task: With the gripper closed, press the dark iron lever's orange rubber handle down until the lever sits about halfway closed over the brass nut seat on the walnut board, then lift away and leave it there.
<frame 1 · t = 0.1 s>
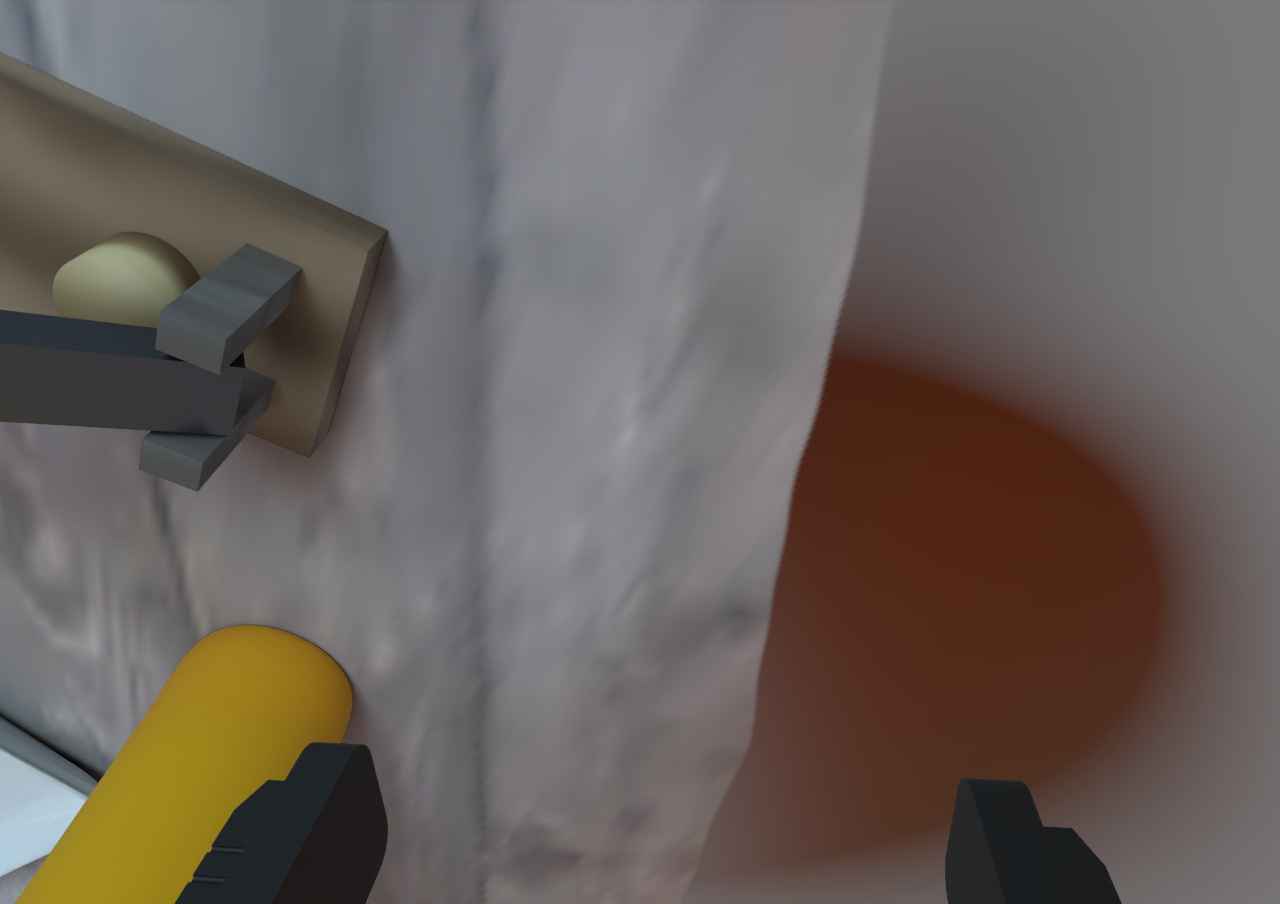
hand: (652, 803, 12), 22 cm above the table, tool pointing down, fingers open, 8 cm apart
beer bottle: (277, 675, 47), on the table
press base: (20, 193, 32), on the table
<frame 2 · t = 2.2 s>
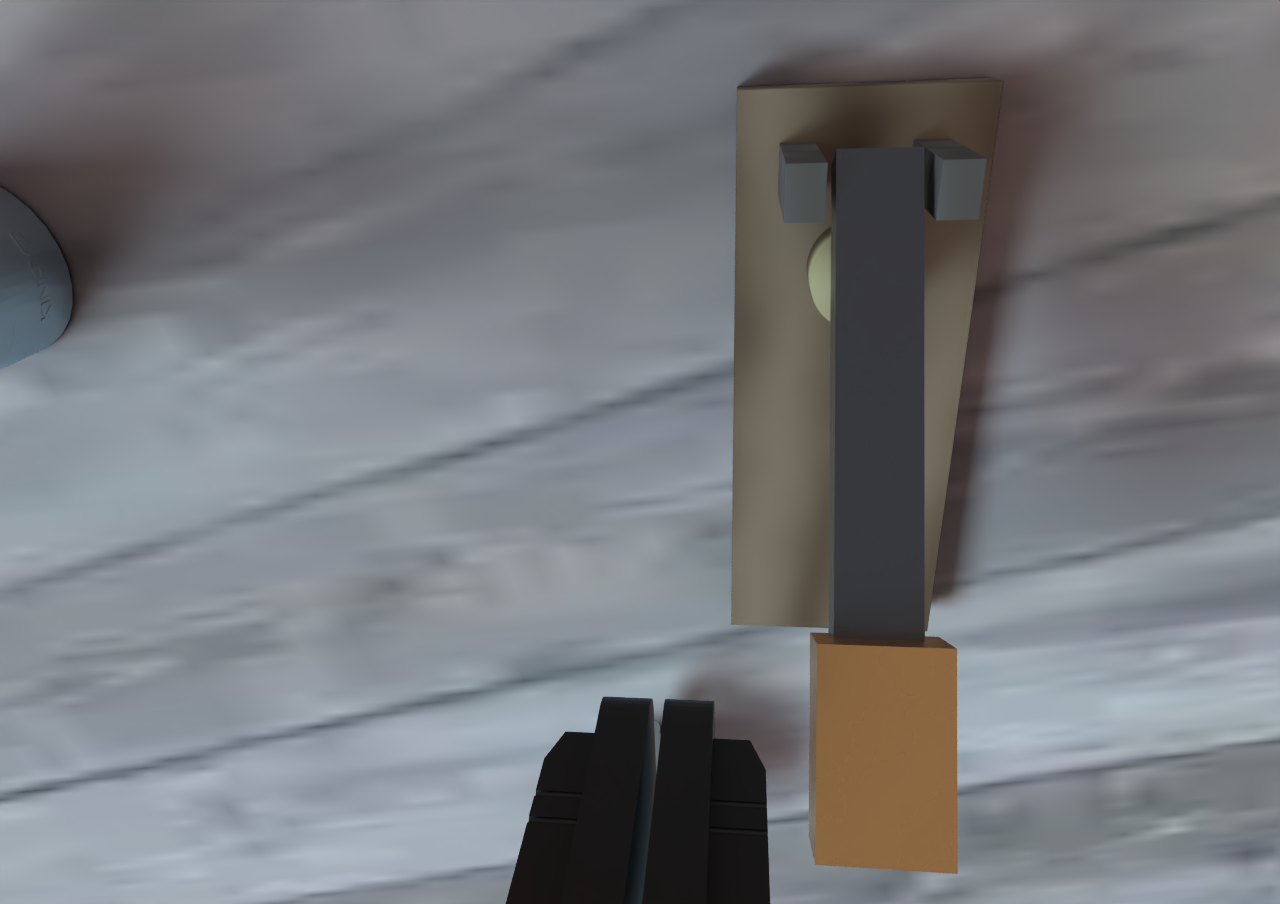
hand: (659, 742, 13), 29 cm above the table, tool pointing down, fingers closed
press lever: (878, 491, 29), point 12 cm above the table, hinge at 30.0°
press base: (840, 381, 40), on the table
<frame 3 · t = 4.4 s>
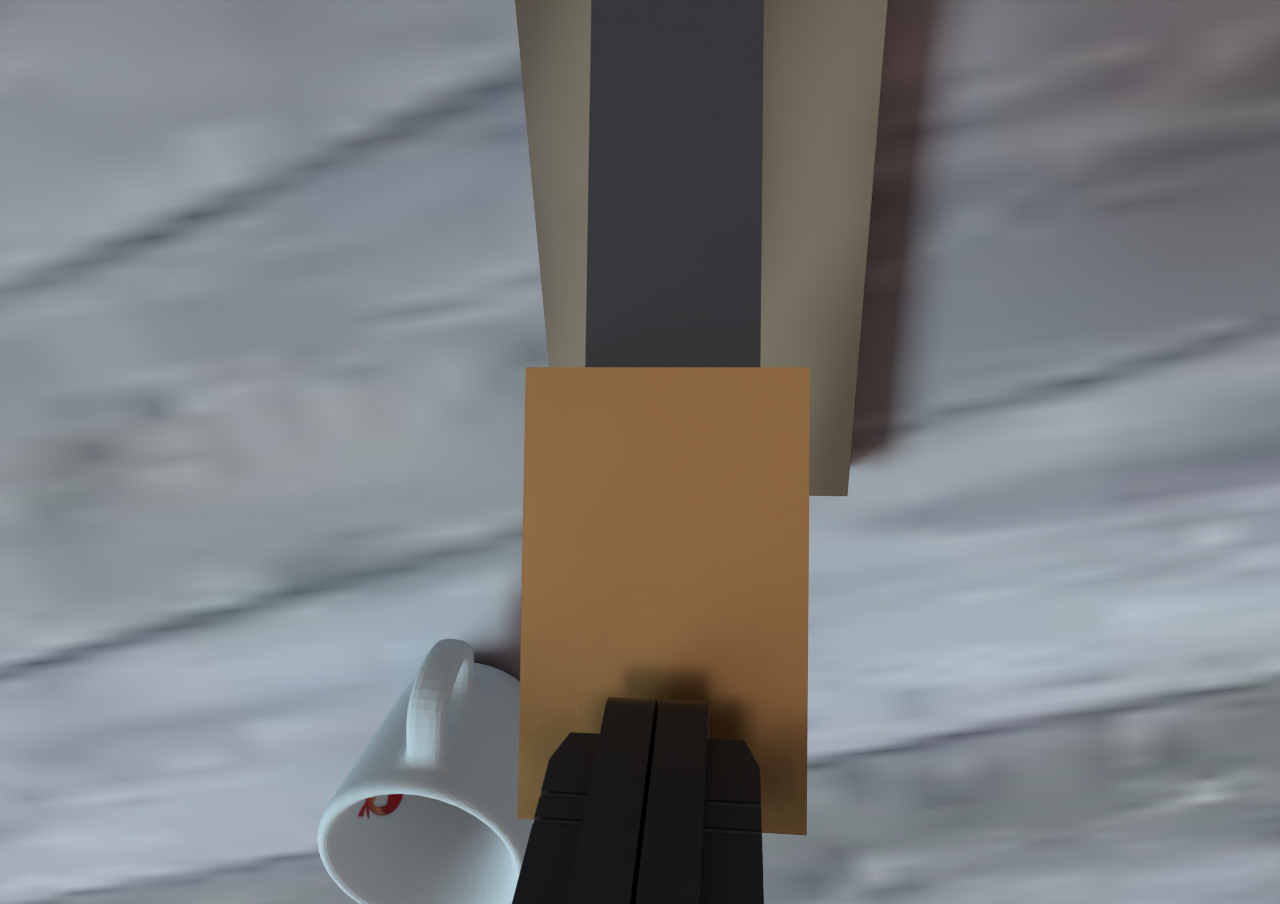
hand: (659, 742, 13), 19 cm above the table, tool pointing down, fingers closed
press lever: (675, 92, 15), point 12 cm above the table, hinge at 29.0°, touching gripper
press base: (701, 86, 26), on the table
cup: (479, 680, 38), on the table
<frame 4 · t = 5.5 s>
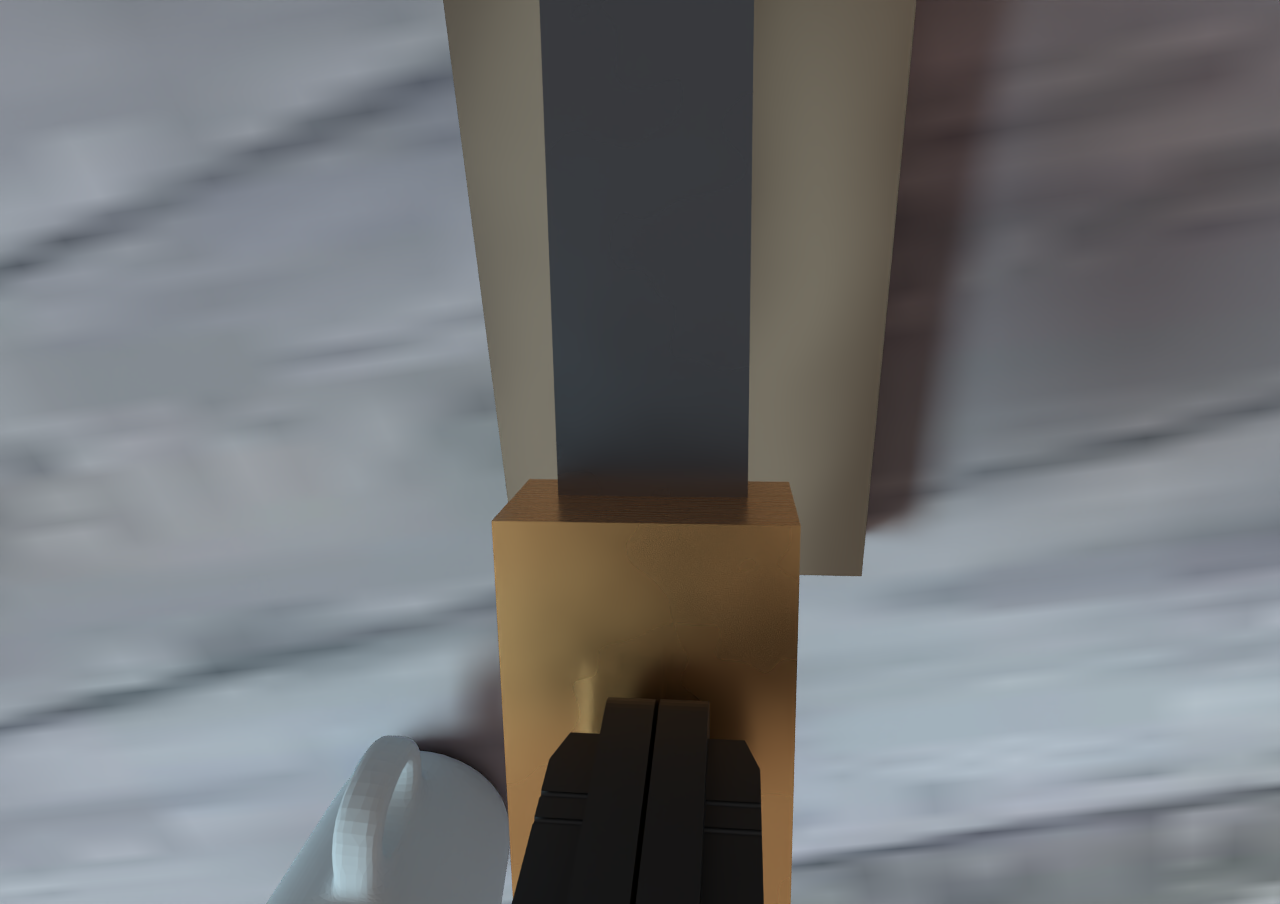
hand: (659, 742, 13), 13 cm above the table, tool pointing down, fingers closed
press lever: (648, 164, 12), point 9 cm above the table, hinge at 14.6°, touching gripper
press base: (680, 80, 21), on the table
cup: (432, 768, 33), on the table
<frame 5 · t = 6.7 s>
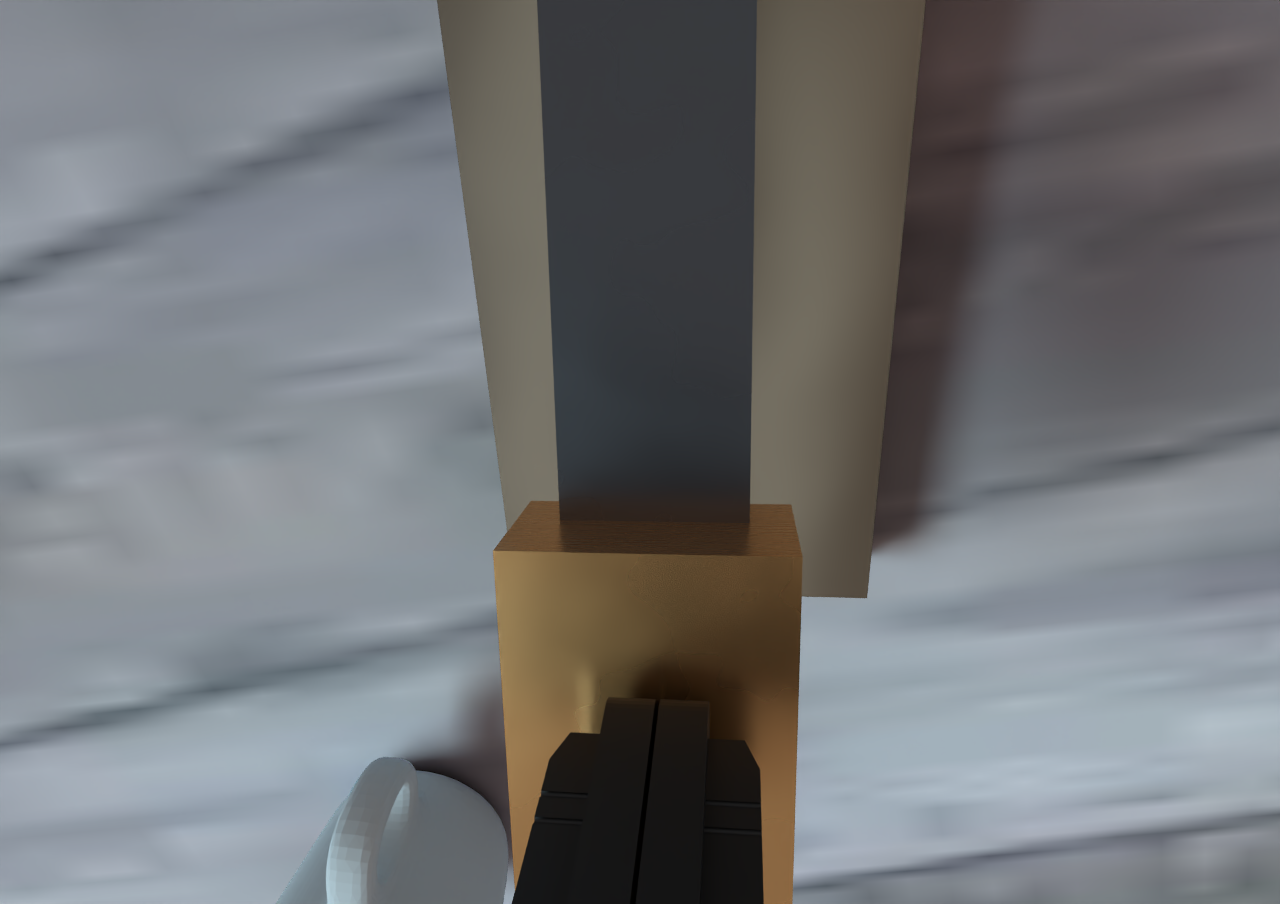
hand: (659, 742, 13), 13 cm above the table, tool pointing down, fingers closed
press lever: (649, 190, 12), point 9 cm above the table, hinge at 12.9°, touching gripper
press base: (682, 93, 20), on the table
cup: (430, 787, 32), on the table
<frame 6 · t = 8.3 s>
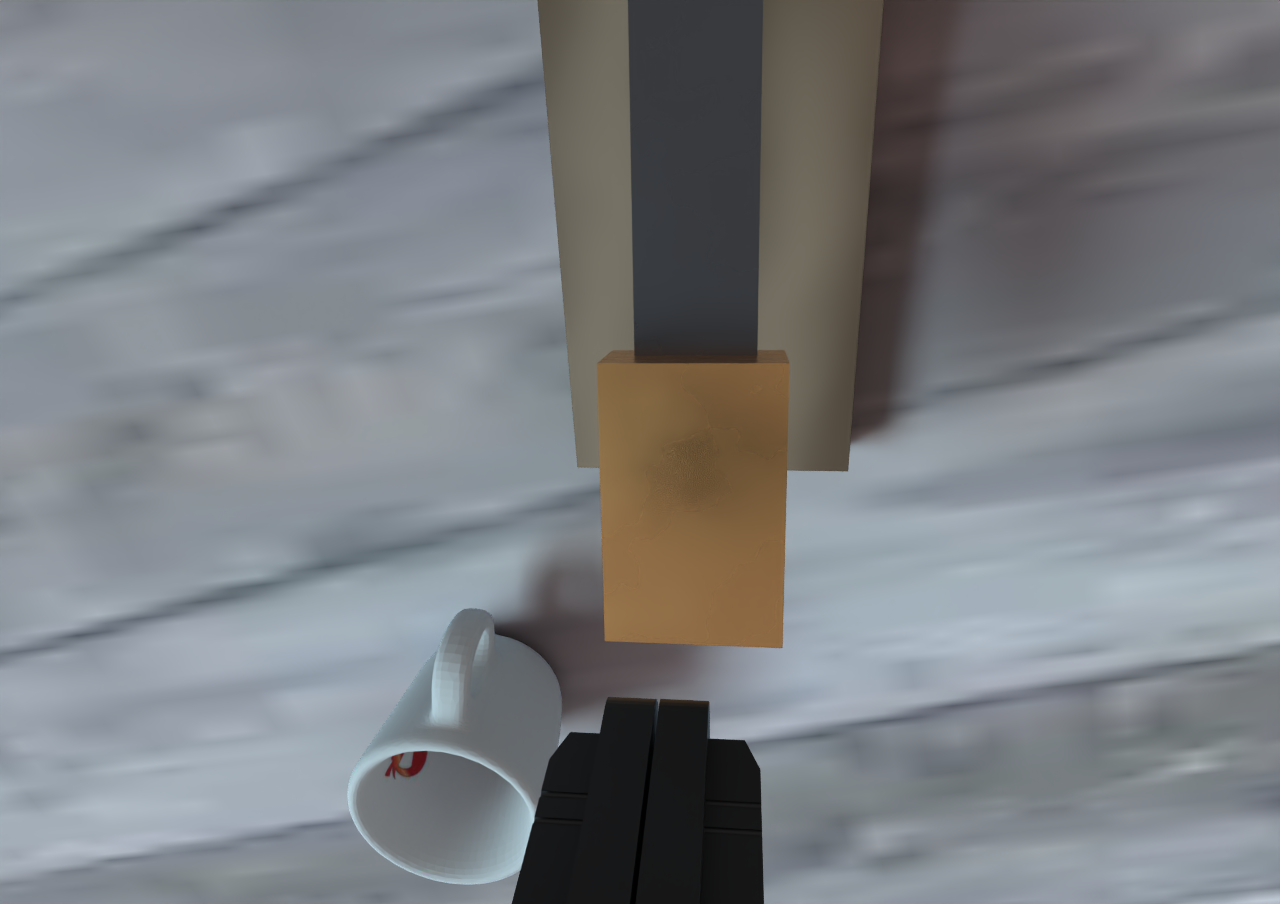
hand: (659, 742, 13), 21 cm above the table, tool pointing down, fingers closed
press lever: (695, 138, 20), point 9 cm above the table, hinge at 12.9°
press base: (710, 84, 28), on the table
cup: (498, 652, 40), on the table
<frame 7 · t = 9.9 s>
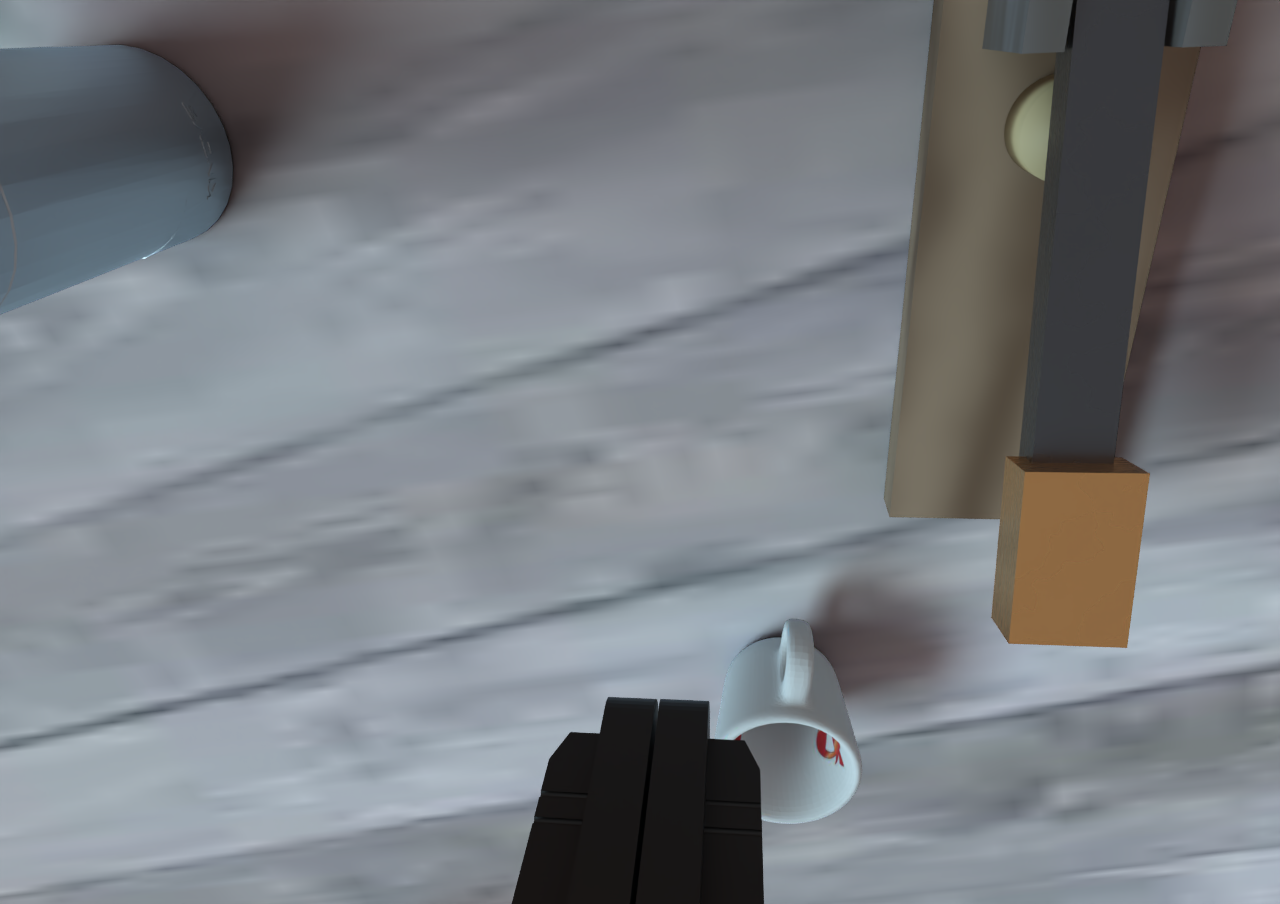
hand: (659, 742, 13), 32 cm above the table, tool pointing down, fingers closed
press lever: (1085, 333, 32), point 9 cm above the table, hinge at 12.9°
press base: (1018, 257, 40), on the table
cup: (783, 651, 52), on the table
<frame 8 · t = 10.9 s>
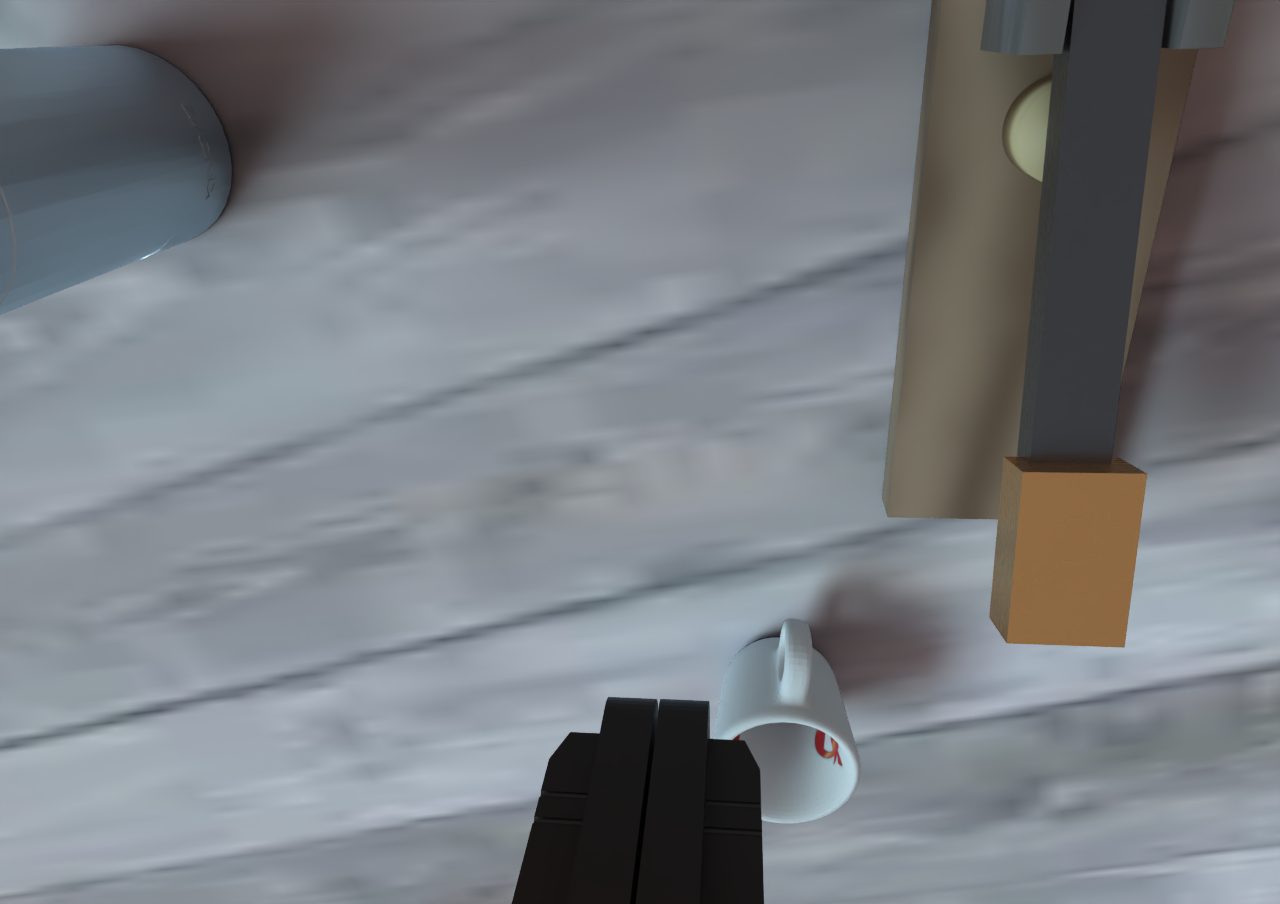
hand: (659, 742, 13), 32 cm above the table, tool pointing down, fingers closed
press lever: (1083, 333, 32), point 9 cm above the table, hinge at 12.9°
press base: (1016, 258, 40), on the table
cup: (781, 651, 52), on the table
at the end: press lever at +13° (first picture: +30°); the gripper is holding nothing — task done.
